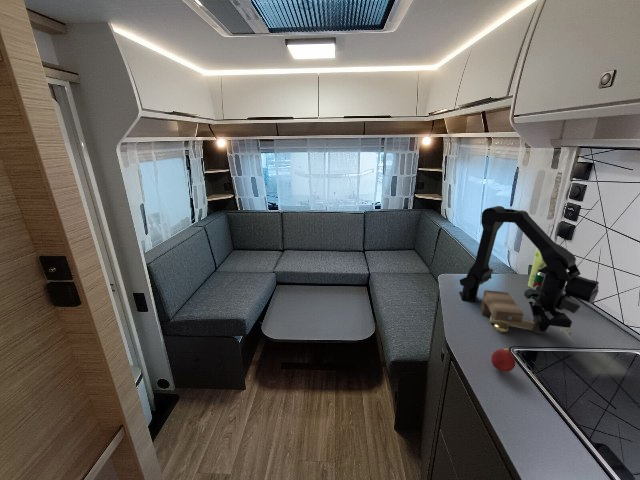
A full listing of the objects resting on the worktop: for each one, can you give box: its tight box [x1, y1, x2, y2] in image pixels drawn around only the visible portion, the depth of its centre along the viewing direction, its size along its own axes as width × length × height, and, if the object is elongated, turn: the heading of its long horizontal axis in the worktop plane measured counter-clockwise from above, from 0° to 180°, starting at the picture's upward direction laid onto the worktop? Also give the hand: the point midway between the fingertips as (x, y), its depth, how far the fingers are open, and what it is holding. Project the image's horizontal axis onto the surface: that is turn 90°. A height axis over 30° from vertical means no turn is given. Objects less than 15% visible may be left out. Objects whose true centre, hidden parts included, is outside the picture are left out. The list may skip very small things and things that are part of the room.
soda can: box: [531, 272, 545, 298], centre depth 120 cm, size 5×5×12 cm
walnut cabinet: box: [479, 289, 525, 323], centre depth 105 cm, size 15×8×9 cm, turn 168°
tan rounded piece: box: [493, 322, 510, 334], centre depth 103 cm, size 4×4×2 cm
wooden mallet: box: [489, 314, 548, 335], centre depth 103 cm, size 3×17×5 cm, turn 70°
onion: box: [490, 348, 516, 373], centre depth 84 cm, size 6×6×8 cm
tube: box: [527, 246, 547, 289], centre depth 128 cm, size 6×5×20 cm
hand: (539, 327), depth 101 cm, fingers closed on wooden mallet, 3 cm apart
